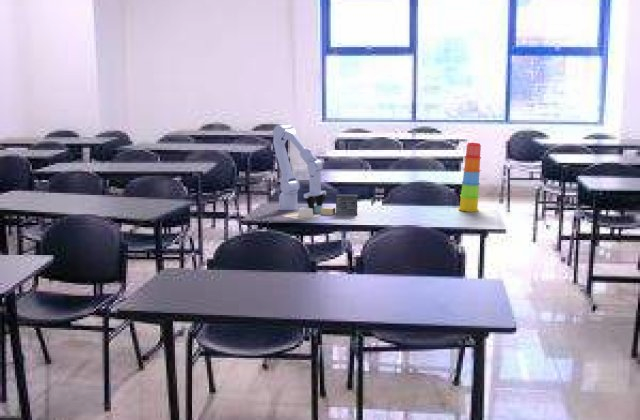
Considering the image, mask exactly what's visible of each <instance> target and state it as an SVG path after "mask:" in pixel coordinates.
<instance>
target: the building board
mask: <svg viewBox="0 0 640 420" xmlns="http://www.w3.org/2000/svg"><path fill="white" fill-rule="evenodd" d="M280 216H281V217H285V218H289V219H290V218H291V219H295V220H301V221H305V220H311V219H314V218H319V217H323V214H317V213H313V217H309V218H305V217H300V216H299V215H298V211H295V212H291V213H285V214H282V215H281V214H280Z"/></svg>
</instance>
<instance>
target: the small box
mask: <svg viewBox="0 0 640 420" xmlns="http://www.w3.org/2000/svg"><path fill="white" fill-rule="evenodd" d="M335 216H353V217H354V216H356V217H357V216H358V194H345V193H343V194H336V195H335Z"/></svg>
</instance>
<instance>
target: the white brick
mask: <svg viewBox="0 0 640 420" xmlns="http://www.w3.org/2000/svg"><path fill="white" fill-rule="evenodd" d="M297 210H298V211H297V212H298V215H299V216H300V217H305V218H309V217H313V214H314V212H313V209H312V208H308V207H306V206H305V207H304V206H303V207H299V208H298V207H297Z"/></svg>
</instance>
